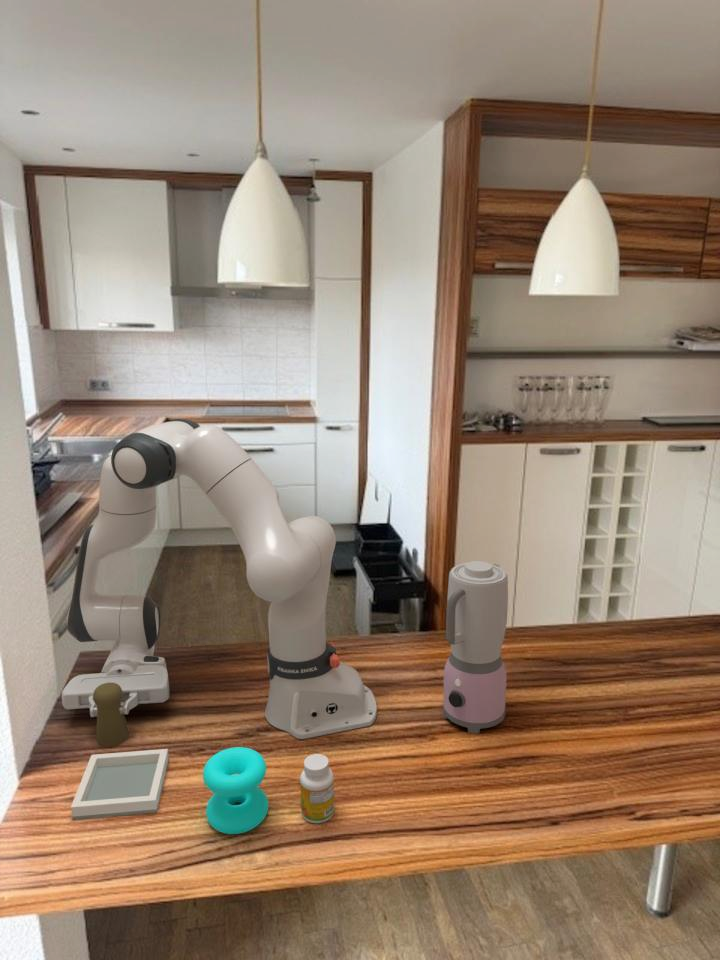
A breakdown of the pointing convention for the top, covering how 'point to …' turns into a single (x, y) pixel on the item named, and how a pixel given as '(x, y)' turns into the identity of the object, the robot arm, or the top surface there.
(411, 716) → the top surface
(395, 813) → the top surface
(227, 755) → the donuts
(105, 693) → the olive brown pawn
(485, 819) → the top surface
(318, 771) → the supplement bottle
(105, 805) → the picture frame
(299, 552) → the robot arm
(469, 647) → the blender
